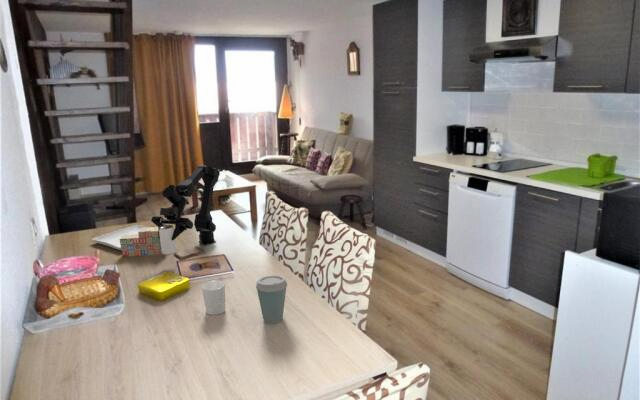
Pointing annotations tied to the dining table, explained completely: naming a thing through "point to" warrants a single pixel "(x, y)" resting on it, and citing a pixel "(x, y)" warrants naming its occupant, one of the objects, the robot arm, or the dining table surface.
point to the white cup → (214, 297)
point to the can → (167, 240)
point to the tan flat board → (189, 252)
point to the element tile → (164, 286)
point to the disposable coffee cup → (272, 297)
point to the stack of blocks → (141, 243)
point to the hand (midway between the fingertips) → (165, 239)
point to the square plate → (117, 236)
